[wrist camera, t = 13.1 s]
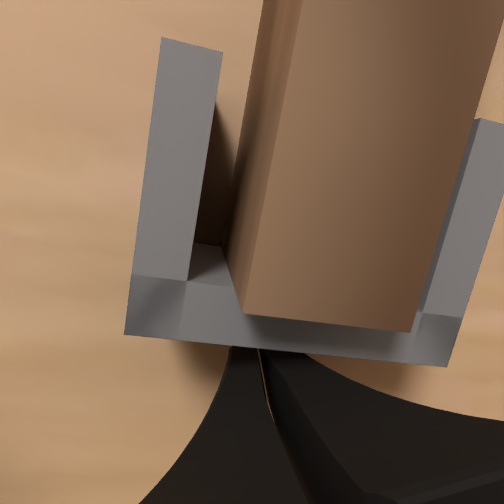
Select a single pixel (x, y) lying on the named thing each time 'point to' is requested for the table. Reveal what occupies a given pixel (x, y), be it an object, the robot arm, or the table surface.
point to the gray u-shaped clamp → (213, 262)
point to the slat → (352, 154)
